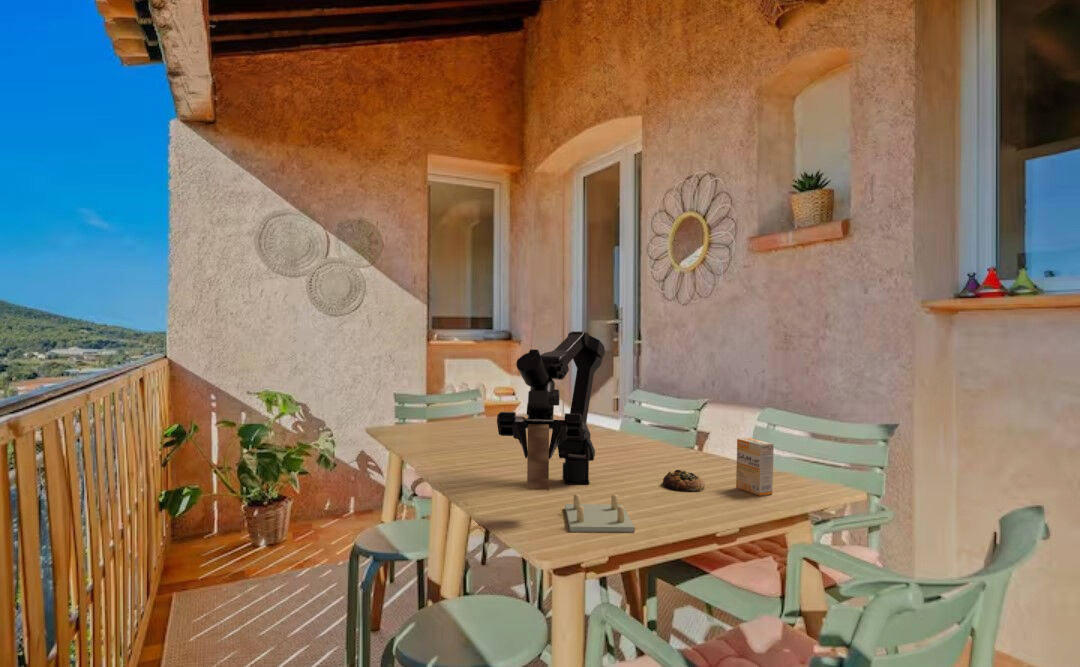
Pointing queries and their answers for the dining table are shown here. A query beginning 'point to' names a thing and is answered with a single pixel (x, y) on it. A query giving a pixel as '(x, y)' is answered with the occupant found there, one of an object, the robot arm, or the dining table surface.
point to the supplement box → (754, 466)
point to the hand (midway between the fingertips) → (537, 457)
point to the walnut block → (538, 457)
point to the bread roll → (683, 481)
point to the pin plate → (598, 517)
